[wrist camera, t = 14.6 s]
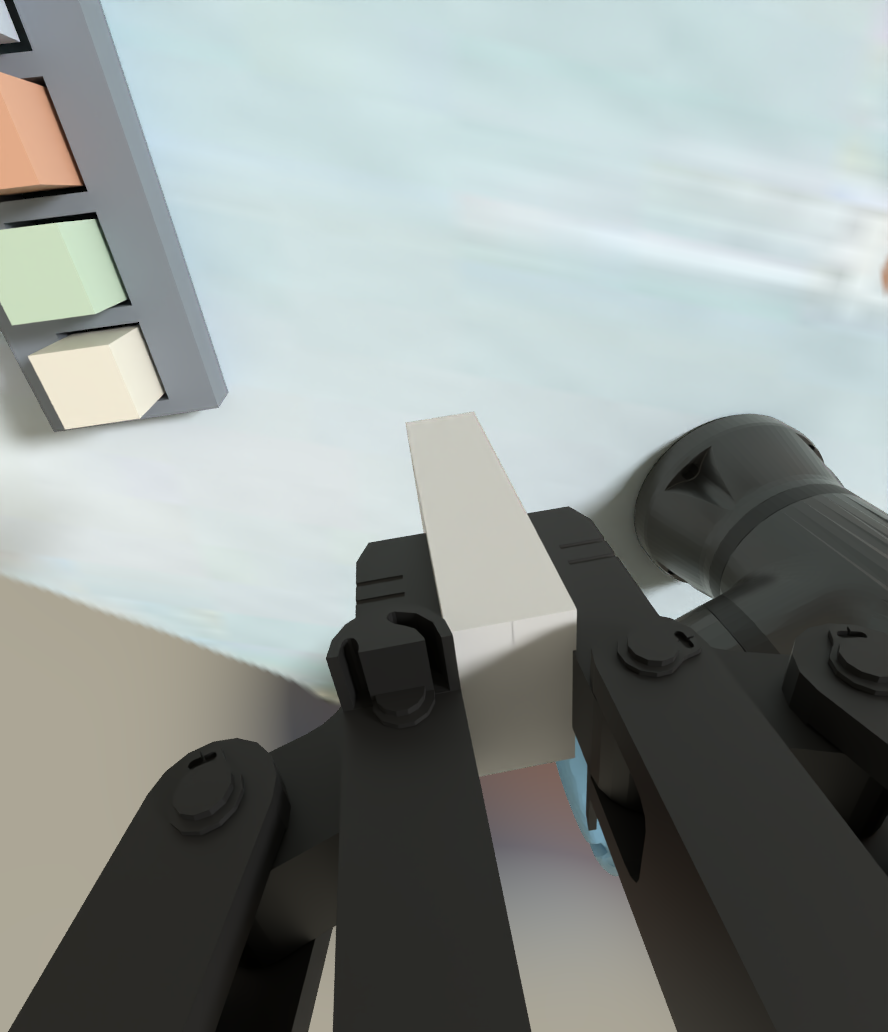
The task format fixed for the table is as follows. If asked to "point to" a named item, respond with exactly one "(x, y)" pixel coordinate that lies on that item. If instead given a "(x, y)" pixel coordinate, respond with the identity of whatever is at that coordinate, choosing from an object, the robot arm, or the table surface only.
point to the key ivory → (99, 376)
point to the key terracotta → (32, 141)
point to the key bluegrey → (6, 26)
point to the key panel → (110, 208)
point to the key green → (57, 272)
